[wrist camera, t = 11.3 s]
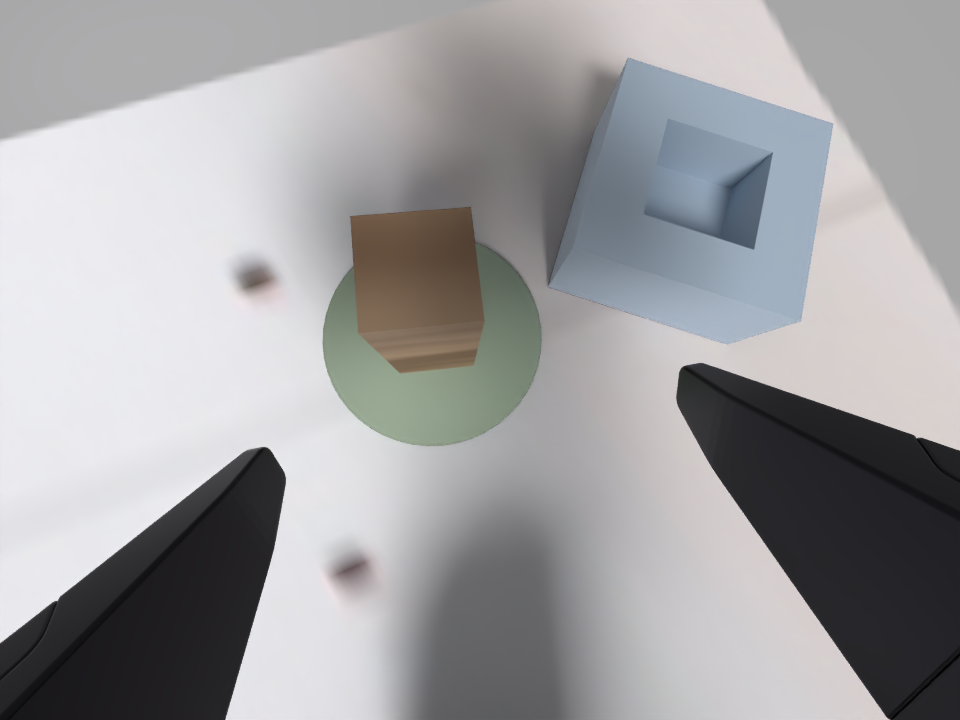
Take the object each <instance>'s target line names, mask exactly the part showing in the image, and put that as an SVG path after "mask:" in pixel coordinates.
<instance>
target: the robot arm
mask: <svg viewBox="0 0 960 720" xmlns="http://www.w3.org/2000/svg"><path fill="white" fill-rule="evenodd" d="M676 399H677V404H678V407H679V409H680V411H681V413H682V415H683V417H684V418H685V420H686V422H687V424H688V426H689V427H690V429H691V431H692V433H693V435H694V437H695V438H696V440H697V442H698V444H699V446H700V448H701V449H702V451H703V453H704V455H705V457H706V458H707V460H708V462H709V464H710V465H711V467H712V468H713V470H714V471H715V473H716V474H717V476H718V477H719V479H720V480H721V482H722V483H723V485H724V486H725V487H726V489H727V490H728V492H729V493H730V495H731V496H732V497H733V499H734V500H735V502H736V503H737V505H738V506H739V507H740V509H741V510H742V512H743V513H744V515H745V516H746V517H747V519H748V520H749V522H750V523H751V525H752V526H753V527H754V529H755V530H756V532H757V533H758V535H759V536H760V537H761V539H762V540H763V542H764V543H765V544H766V546H767V547H768V549H769V550H770V552H771V553H772V554H773V556H774V557H775V559H776V560H777V562H778V563H779V564H780V566H781V567H782V569H783V570H784V572H785V573H786V574H787V576H788V577H789V579H790V580H791V582H792V583H793V584H794V586H795V587H796V589H797V590H798V592H799V593H800V594H801V596H802V597H803V599H804V600H805V602H806V603H807V604H808V606H809V607H810V609H811V610H812V612H813V613H814V614H815V616H816V617H817V619H818V620H819V621H820V623H821V624H822V626H823V627H824V629H825V630H826V631H827V633H828V634H829V636H830V637H831V639H832V640H833V641H834V643H835V644H836V646H837V647H838V649H839V650H840V651H841V653H842V654H843V656H844V657H845V659H846V660H847V661H848V663H849V664H850V666H851V667H852V669H853V670H854V671H855V673H856V674H857V676H858V677H859V679H860V680H861V681H862V683H863V684H864V686H865V687H866V689H867V690H868V691H869V693H870V694H871V696H872V697H873V698H874V700H875V701H876V703H877V704H878V706H879V707H880V708H881V710H882V711H883V713H884V714H885V716H886V717H887V718H888V719H890V720H960V451H959V450H956V449H953V448H950V447H947V446H944V445H941V444H938V443H936V442H933V441H930V440H927V439H924V438H917V439H916V437H915V436H914V435H912V434H909V433H906V432H903V431H900V430H897V429H894V428H891V427H888V426H886V425H883V424H880V423H877V422H874V421H871V420H868V419H865V418H862V417H859V416H856V415H853V414H850V413H847V412H844V411H842V410H839V409H836V408H833V407H830V406H827V405H824V404H821V403H818V402H815V401H812V400H809V399H806V398H803V397H801V396H798V395H795V394H792V393H789V392H786V391H783V390H780V389H777V388H774V387H771V386H768V385H765V384H762V383H760V382H757V381H754V380H751V379H748V378H745V377H742V376H739V375H736V374H733V373H730V372H727V371H724V370H721V369H719V368H716V367H713V366H710V365H707V364H704V363H697V364H692V365H687V366H683V367H682V368H681V369H680V372H679V379H678V387H677V396H676ZM285 485H286V477H285V473H284V471H283V469H282V468H281V466H280V465H279V463H278V461H277V460H276V458H275V457H274V455H273V453H272V452H271V450H270V449H268V448H267V447H260V448H255V449H250V450H247V451H245V452H243V453H242V454H241V455H239V456H238V457H237V458H236V459H234V460H233V461H232V462H230V463H229V464H228V465H227V466H225V467H224V468H223V469H222V470H220V471H219V472H218V473H217V474H215V475H214V476H213V477H211V478H210V479H209V480H208V481H206V482H205V483H204V484H203V485H201V486H200V487H199V488H197V489H196V490H195V491H194V492H192V493H191V494H190V495H189V496H187V497H186V498H185V499H184V500H182V501H181V502H180V503H178V504H177V505H176V506H175V507H173V508H172V509H171V510H170V511H168V512H167V513H166V514H164V515H163V516H162V517H161V518H159V519H158V520H157V521H156V522H154V523H153V524H152V525H150V526H149V527H148V528H147V529H145V530H144V531H143V532H142V533H140V534H139V535H138V536H137V537H135V538H134V539H133V540H131V541H130V542H129V543H128V544H126V545H125V546H124V547H123V548H121V549H120V550H119V551H117V552H116V553H115V554H114V555H112V556H111V557H110V558H109V559H107V560H106V561H105V562H104V563H102V564H101V565H100V566H98V567H97V568H96V569H95V570H93V571H92V572H91V573H90V574H88V575H87V576H86V577H84V578H83V579H82V580H81V581H79V582H78V583H77V584H76V585H74V586H73V587H72V588H70V589H69V590H68V591H67V592H65V593H64V594H63V595H62V596H60V598H59V599H58V601H54V602H53V603H51V604H50V605H49V606H47V607H46V608H45V609H44V610H42V611H41V612H40V613H39V614H37V615H36V616H35V617H34V618H32V619H31V620H30V621H28V622H27V623H26V624H25V625H23V626H22V627H21V628H19V629H18V630H17V631H16V632H14V633H13V634H12V635H10V636H9V637H8V638H6V639H5V640H4V641H3V642H1V643H0V720H225V719H226V715H227V712H228V708H229V705H230V701H231V698H232V694H233V691H234V687H235V684H236V680H237V677H238V674H239V670H240V667H241V663H242V660H243V656H244V653H245V649H246V646H247V642H248V639H249V635H250V632H251V628H252V625H253V621H254V618H255V614H256V611H257V607H258V604H259V600H260V597H261V594H262V590H263V587H264V583H265V580H266V576H267V573H268V569H269V566H270V562H271V558H272V554H273V551H274V546H275V541H276V536H277V530H278V525H279V519H280V513H281V508H282V502H283V496H284V491H285Z"/></svg>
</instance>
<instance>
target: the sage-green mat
mask: <svg viewBox="0 0 960 720" xmlns="http://www.w3.org/2000/svg"><path fill="white" fill-rule="evenodd" d="M475 246H476V254H477V262H478V271H479V279H480V287H481V295H482V303H483V311H484V319H485V322H484V326H483V330H482V334H481V338H480V342H479V346H478V350H477V354H476V358H475V362H474V366H467V367H457V368H448V369H439V370H429V371H420V372H411V373H401V374H400V373H399V372H398V371H397V370H396V369H395V368H394V367H393V366H392V365H391V364H390V363H389V362H387V361H386V360H385V359H384V358H383V357H382V356H381V355H380V354H379V353H378V352H377V351H376V350H375V349H374V348H373V347H372V346H371V345H370V344H369V343H368V342H367V341H366V340H365V339H363V338H362V337H361V336H360V335H359V334H358V324H357V309H356V293H355V278H354V267H353V268H352V269H351V270H350V271H349V272H348V274H347V275H346V276H345V277H344V278H343V280H342V281H341V283H340V285H339V286H338V288H337V289H336V291H335V293H334V295H333V297H332V299H331V301H330V304H329V307H328V310H327V313H326V317H325V323H324V328H323V352H324V359H325V364H326V368H327V372H328V374H329V377H330V379H331V382H332V384H333V386H334V388H335V390H336V392H337V393H338V395H339V397H340V398H341V400H342V401H343V402H344V404H345V405H346V406H347V408H348V409H349V410H350V411H351V412H352V413H353V414H354V415H355V416H356V417H357V418H358V419H359V420H361V421H362V422H363V423H365V424H366V425H367V426H369V427H370V428H371V429H373V430H375V431H377V432H379V433H380V434H382V435H384V436H387V437H389V438H392V439H394V440H397V441H400V442H405V443H409V444H414V445H424V446H439V445H448V444H454V443H458V442H462V441H465V440H468V439H471V438H474V437H476V436H478V435H480V434H482V433H485V432H486V431H488V430H489V429H491V428H493V427H494V426H496V425H497V424H499V423H500V422H501V421H502V420H503V419H504V418H506V417H507V416H508V415H509V414H510V413H511V412H512V411H513V410H514V409H515V408H516V406H517V405H518V404H519V403H520V401H521V400H522V398H523V397H524V396H525V394H526V393H527V391H528V389H529V387H530V385H531V383H532V381H533V378H534V376H535V373H536V370H537V367H538V363H539V358H540V352H541V326H540V321H539V315H538V311H537V308H536V305H535V302H534V300H533V298H532V296H531V293H530V291H529V289H528V288H527V286H526V284H525V283H524V281H523V280H522V278H521V277H520V276H519V275H518V273H517V272H516V271H515V270H514V269H513V268H512V266H510V265H509V264H508V263H507V262H506V261H505V260H504V259H503V258H501V257H500V256H499V255H497V254H496V253H494V252H493V251H491V250H490V249H488V248H486V247H484V246H482V245H480V244H478V243H476V242H475Z"/></svg>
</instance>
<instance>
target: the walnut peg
mask: <svg viewBox="0 0 960 720" xmlns="http://www.w3.org/2000/svg"><path fill="white" fill-rule="evenodd" d="M350 218H351V233H352V248H353V263H354V278H355V293H356V309H357V324H358V334H359V335H360V336H361V337H362V338H363V339H365V340H366V341H367V342H368V343H369V344H370V345H371V346H372V347H373V348H374V349H375V350H376V351H377V352H378V353H379V354H380V355H381V356H382V357H383V358H384V359H385V360H386V361H387V362H389V363H390V364H391V365H392V366H393V367H394V368H395V369H396V370H397V371H398V372H399V373H400V374H401V373H411V372H420V371H429V370H439V369H448V368H457V367H467V366H474V362H475V358H476V354H477V350H478V346H479V342H480V338H481V334H482V330H483V326H484V322H485V319H484V311H483V303H482V295H481V287H480V279H479V271H478V262H477V254H476V246H475V238H474V230H473V222H472V214H471V207H465V208H452V209H438V210H425V211H412V212H399V213H386V214H373V215H360V216H350Z"/></svg>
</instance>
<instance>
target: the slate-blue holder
mask: <svg viewBox="0 0 960 720" xmlns="http://www.w3.org/2000/svg"><path fill="white" fill-rule="evenodd" d="M832 128H833V123H830V122H827V121H824V120H821V119H817V118H814V117H811V116H808V115H805V114H802V113H799V112H796V111H792V110H789V109H786V108H783V107H780V106H777V105H774V104H771V103H768V102H764V101H761V100H758V99H755V98H752V97H749V96H746V95H743V94H740V93H736V92H733V91H730V90H727V89H724V88H721V87H718V86H715V85H712V84H708V83H705V82H702V81H699V80H696V79H693V78H690V77H687V76H683V75H680V74H677V73H674V72H671V71H668V70H665V69H662V68H659V67H655V66H652V65H649V64H646V63H643V62H640V61H637V60H634V59H631V58H628V59H627V61H626V64H625V66H624V68H623V70H622V72H621V74H620V77H619V79H618V81H617V83H616V85H615V88H614V90H613V92H612V94H611V96H610V98H609V101H608V103H607V105H606V107H605V109H604V112H603V114H602V116H601V118H600V120H599V122H598V125H597V127H596V129H595V131H594V135H593V138H592V141H591V145H590V148H589V151H588V155H587V158H586V161H585V165H584V168H583V171H582V175H581V178H580V181H579V185H578V188H577V191H576V195H575V198H574V202H573V205H572V208H571V212H570V215H569V218H568V222H567V225H566V228H565V232H564V235H563V238H562V242H561V245H560V248H559V252H558V255H557V259H556V262H555V265H554V269H553V272H552V275H551V279H550V282H549V285H548V287H550V288H553V289H556V290H559V291H562V292H565V293H568V294H572V295H575V296H578V297H581V298H584V299H587V300H590V301H593V302H596V303H600V304H603V305H606V306H609V307H612V308H615V309H618V310H621V311H624V312H628V313H631V314H634V315H637V316H640V317H643V318H646V319H649V320H652V321H656V322H659V323H662V324H665V325H668V326H671V327H674V328H677V329H680V330H684V331H687V332H690V333H693V334H696V335H699V336H702V337H705V338H708V339H712V340H715V341H718V342H721V343H724V344H730V343H733V342H736V341H740V340H743V339H746V338H749V337H752V336H755V335H759V334H762V333H765V332H768V331H771V330H775V329H778V328H781V327H784V326H787V325H790V324H794V323H797V322H800V321H801V317H802V311H803V305H804V299H805V293H806V287H807V281H808V275H809V268H810V262H811V256H812V250H813V244H814V238H815V232H816V226H817V220H818V213H819V207H820V201H821V195H822V189H823V183H824V177H825V171H826V165H827V159H828V152H829V146H830V140H831V134H832Z"/></svg>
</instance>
